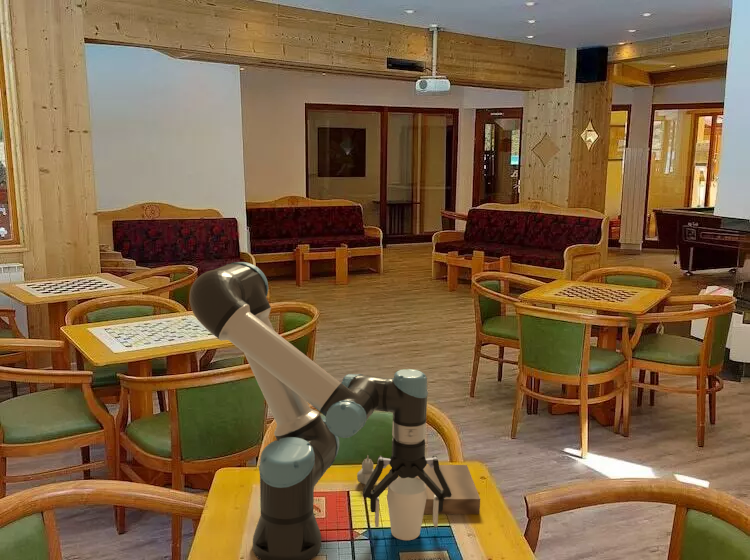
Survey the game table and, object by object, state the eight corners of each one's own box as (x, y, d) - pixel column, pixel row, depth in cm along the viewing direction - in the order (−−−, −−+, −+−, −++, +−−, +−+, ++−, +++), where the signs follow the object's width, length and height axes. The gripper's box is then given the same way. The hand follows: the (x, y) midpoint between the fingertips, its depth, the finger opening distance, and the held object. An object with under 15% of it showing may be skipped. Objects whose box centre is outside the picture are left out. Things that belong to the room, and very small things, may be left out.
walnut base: (406, 514, 166) (407, 499, 165) (400, 478, 183) (400, 464, 183) (479, 513, 167) (480, 499, 166) (466, 478, 184) (466, 464, 184)
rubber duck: (377, 478, 183) (377, 450, 182) (377, 490, 177) (378, 462, 175) (356, 478, 183) (357, 450, 182) (357, 490, 177) (357, 462, 175)
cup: (422, 546, 153) (424, 497, 150) (382, 540, 154) (384, 492, 152) (427, 525, 161) (429, 478, 159) (389, 520, 163) (391, 473, 161)
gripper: (353, 445, 149) (352, 533, 153) (466, 445, 150) (462, 532, 154) (353, 431, 156) (351, 515, 160) (460, 431, 158) (456, 514, 162)
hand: (405, 523), depth 157 cm, fingers open, 13 cm apart
